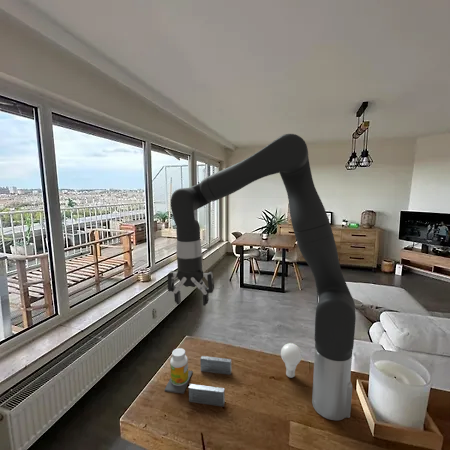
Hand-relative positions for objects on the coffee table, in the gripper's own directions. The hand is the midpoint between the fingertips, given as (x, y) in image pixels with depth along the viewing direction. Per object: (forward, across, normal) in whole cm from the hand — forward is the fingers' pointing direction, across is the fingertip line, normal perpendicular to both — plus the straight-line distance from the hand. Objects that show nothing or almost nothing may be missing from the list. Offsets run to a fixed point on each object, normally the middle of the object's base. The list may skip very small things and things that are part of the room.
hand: (191, 304), depth 84 cm
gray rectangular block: (+24, +4, +5) cm, 25 cm away
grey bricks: (+24, -7, +5) cm, 25 cm away
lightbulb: (+25, -31, -2) cm, 39 cm away
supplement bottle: (+24, +4, +5) cm, 24 cm away
